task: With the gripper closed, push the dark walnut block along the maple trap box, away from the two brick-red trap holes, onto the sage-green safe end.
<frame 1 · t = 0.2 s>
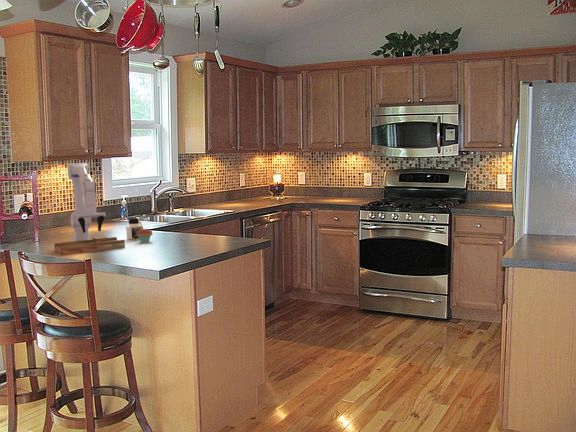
hand: (91, 231, 321), 10 cm above the countertop, fingers open, 7 cm apart
walnut block: (100, 243, 329), point 2 cm above the countertop, touching trap box
medicine bottle: (135, 238, 361), on the countertop
cupcake: (144, 242, 347), on the countertop
trap box: (90, 249, 327), on the countertop
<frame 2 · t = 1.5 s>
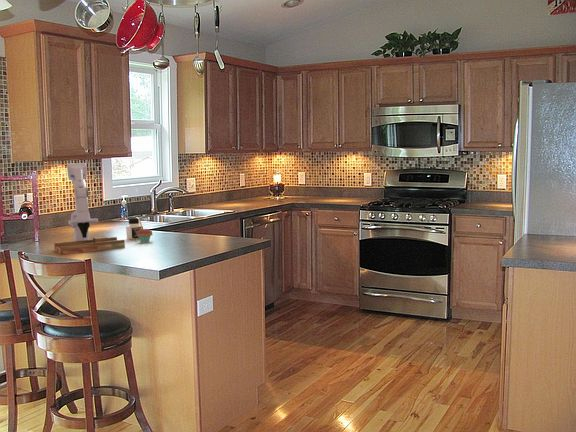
hand: (84, 237, 325), 6 cm above the countertop, fingers closed
nothing on the countertop moved.
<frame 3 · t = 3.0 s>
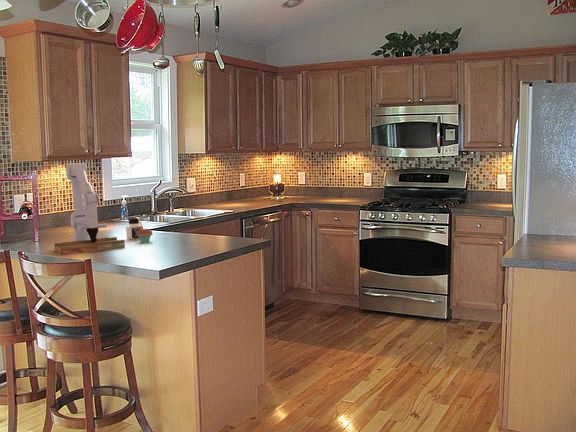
hand: (93, 242, 327), 3 cm above the countertop, fingers closed
walnut block: (101, 243, 330), point 3 cm above the countertop, touching gripper, trap box
everything else where it was.
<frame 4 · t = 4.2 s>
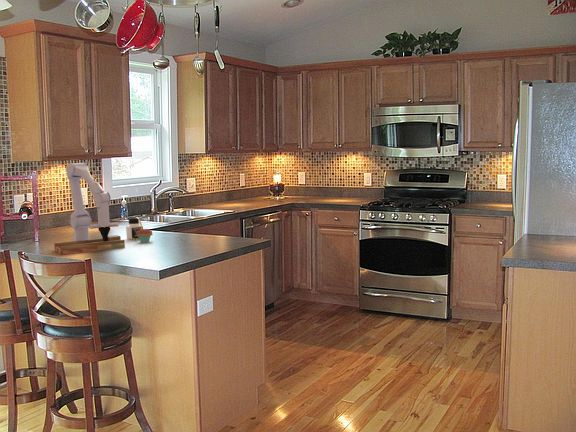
hand: (105, 241, 331), 3 cm above the countertop, fingers closed
walnut block: (113, 241, 333), point 3 cm above the countertop, touching gripper, trap box
everything else where it was.
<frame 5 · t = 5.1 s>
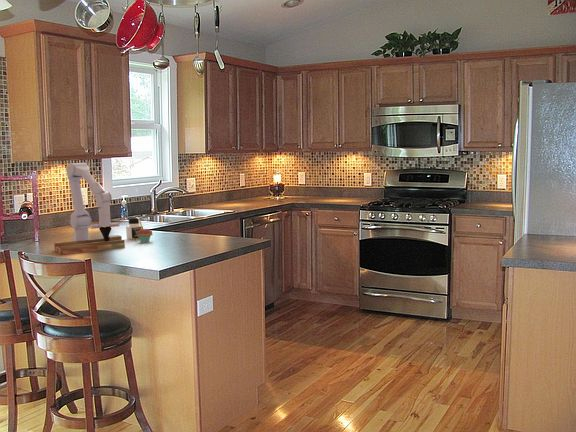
hand: (106, 241, 331), 3 cm above the countertop, fingers closed
nothing on the countertop moved.
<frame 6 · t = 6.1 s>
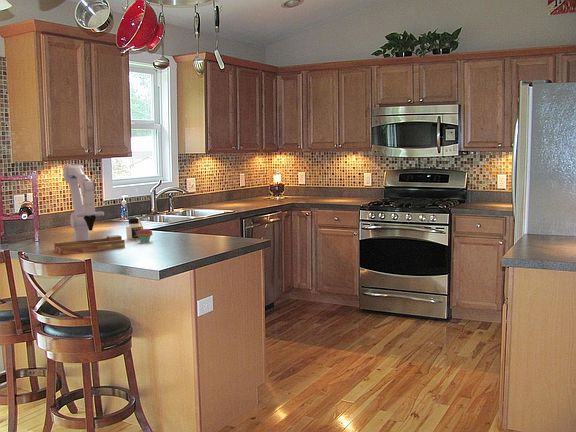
hand: (90, 230, 329), 9 cm above the countertop, fingers closed
walnut block: (114, 241, 333), point 2 cm above the countertop, touching trap box
everything else where it was.
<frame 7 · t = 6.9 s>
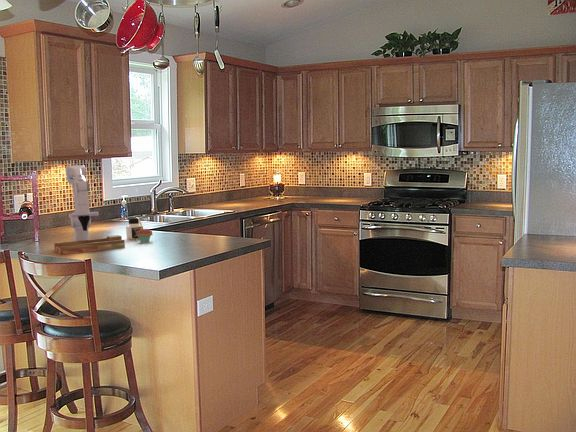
hand: (84, 230, 329), 9 cm above the countertop, fingers closed
nothing on the countertop moved.
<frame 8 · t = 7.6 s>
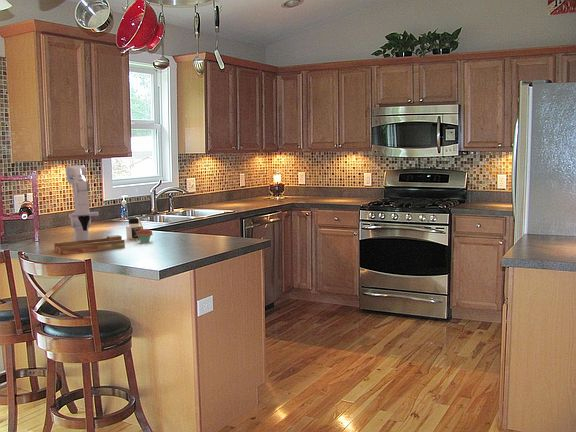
hand: (84, 230, 329), 9 cm above the countertop, fingers closed
nothing on the countertop moved.
at the end: walnut block 0.3 cm from the target spot on the trap box, point 2.5 cm above the trap box's base; walnut block tilted 0°; walnut block touching trap box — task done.
